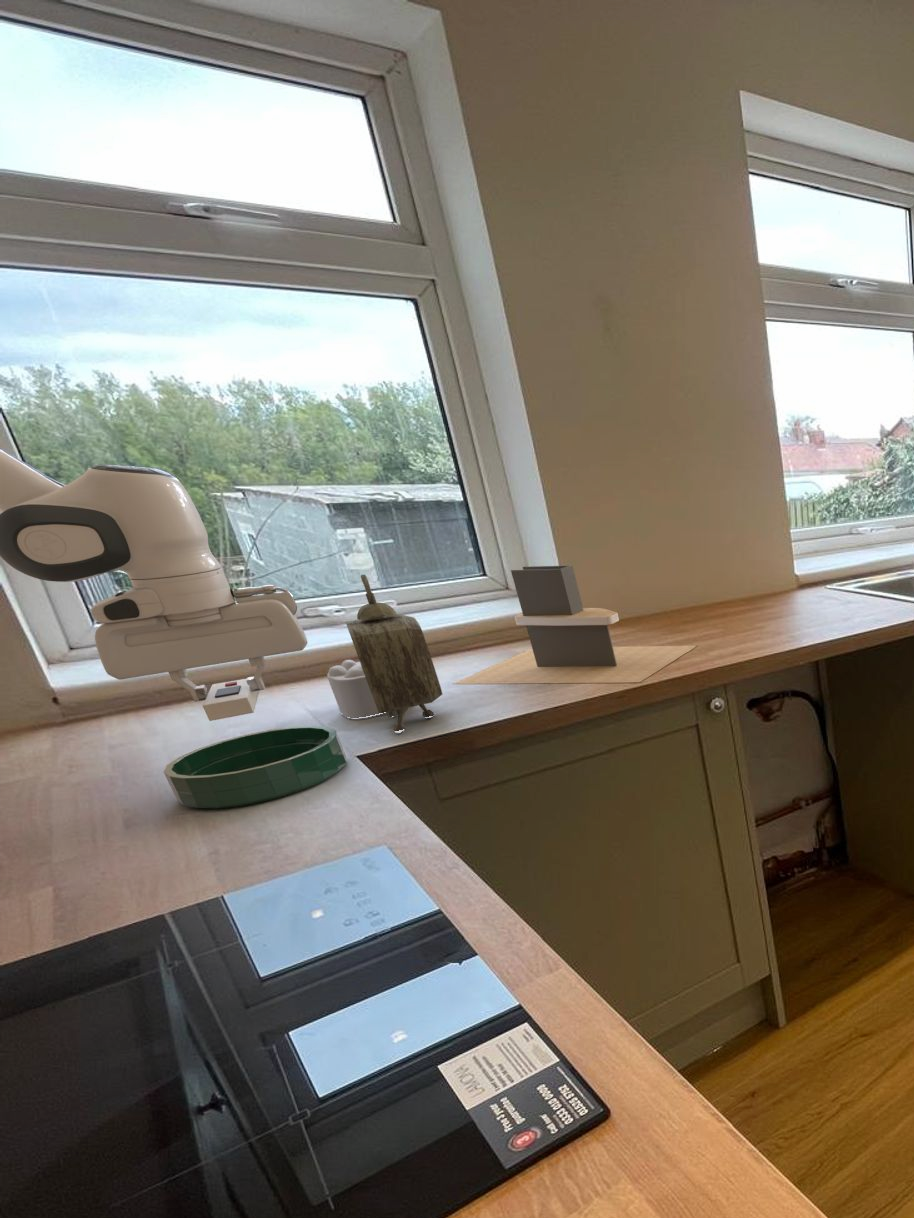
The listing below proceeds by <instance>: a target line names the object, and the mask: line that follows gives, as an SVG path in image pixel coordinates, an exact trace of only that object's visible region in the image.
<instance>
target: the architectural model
mask: <svg viewBox="0 0 914 1218" xmlns="http://www.w3.org/2000/svg"><path fill="white" fill-rule="evenodd" d="M510 572H511V576H512V580H513V583H514V586H515V591H516V595H517V598H518V601H519V605H520V609H521V613H518V614H517V615H515V616H514V621H515V623H516V626H525V628H526V631H527V635H528V638H529V641H530V646H531V648H530V649H527V650H525V651H523V652H521V653H518V654H516V655H514V656H511V657H509V658H507V659H505V660H503V661H501V662H498V663H496V664H493V665H492V666H490V667H488V668H485V669H483V670H481V671H479V672H476V673H473V674H472V675H470V676H469V675H468V676H467V677H465V678H463V679H460V680H458V681H456V682H454V683H453V685H481V684H482V685H488V684H490V685H492V684H493V685H494V684H495V685H497V684H503V685H505V684H600V683H601V684H605V683H606V684H607V683H608V684H609V683H613V684H614V683H621V684H622V683H641V682H643V681H644V680H645V679H647V678H649V677H651V676H652V675H654V674H655V673H657V672H658V671H660V670H661V669H663V668H665V667H667V666H668V665H669V664H671V663H672V662H674V661H676V660H677V659H679V658H681V657H682V656H684V655H686V654H687V653H688V652H690V651H691V650H693V649H695V648H696V647H697V645H650V646H649V645H647V646H645V645H644V646H643V645H642V646H641V645H640V646H638V645H637V646H633V645H632V646H613V643H612V642H613V641H612V638H611V633H610V629H609V625H613V624H615V623H617V622H619V621H620V619H619V614H618V612H617V611H613V610H610V609H606V608H603V607H583V603H582V599H581V594H580V589H579V586H578V582H577V579H576V574H575V570H574V566H573V565H572V564H571V565H539V566H538V565H534V566H522V569H511V570H510Z"/></svg>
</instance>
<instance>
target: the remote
mask: <svg viewBox="0 0 914 1218" xmlns="http://www.w3.org/2000/svg"><path fill="white" fill-rule="evenodd" d="M246 679H247V678H243V679H237V680H231V681H225V682H219V683H213V684H212V685H211V687H210V689H209V690H208V692H209V693H208V696H207V697H206V699H205V700H203V701H204V702H203V704H202V708H203V710H204V712H205V715H206V716H207V719H208V721H209V722H213V721H219V720H223V719H227V718H228V719H229V718H233V717H239V716H244V715H249V714H254V713H255V709H256V705H257V702H258V698H259V695H260V690H259V691H253V692H252V691H251V690H250V689H249V687H250V686H249V685H248V684H247V681H246Z"/></svg>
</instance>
